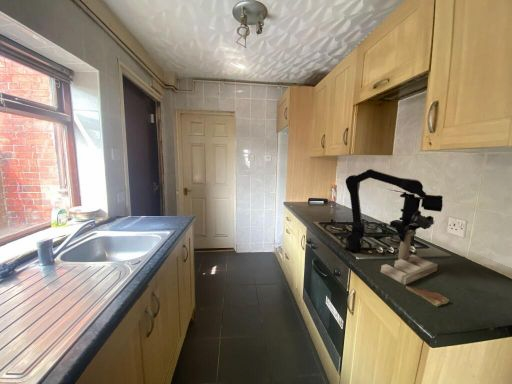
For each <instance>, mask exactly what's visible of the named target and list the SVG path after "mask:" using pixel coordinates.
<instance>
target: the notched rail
mask: <svg viewBox="0 0 512 384" xmlns="http://www.w3.org/2000/svg"><path fill="white" fill-rule="evenodd" d="M437 270H438V264H437V263H435V262H432V261H429V260H427V259H424V258H422V257H419V256H417V255H414V254H411V255H408V258H407V261H405V260H402V259H397V260H395V261H394V266H391V265H389V264H387V263H386V264H382V265H381V268H380V273H381V274H383V275H386V276H387V277H389V278H391V279H393V280H395V281H396V282H398V283H400V284H403V285H405V286H407V285H408V284H410V283H412V282H414V281H415V282H416V281H417V280H419V279H422V278H424V277H427V276H429V275H430V274H433V273H434V272H437Z"/></svg>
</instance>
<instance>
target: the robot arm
mask: <svg viewBox="0 0 512 384" xmlns="http://www.w3.org/2000/svg"><path fill="white" fill-rule="evenodd" d="M368 179H373V180H377V181H380V182H383V183H386V184H389V185H392V186H396V187H398V188H400V189H401V190H404V192H403V193H401V194H400V195H399V197H400V198H404V201H403V206H402V208H400V212H401V213H402V214H401V217H399V219H394V220H392V221H390V223H389V227H391V228H394V229H395V231H396V232H397V234H398V235H397V236H398V238H399V239H400V242H401V241H402V242H404V240H405V237H406V234H407V232H408V231H409V230H414V231H416V232H417V230H418V229H420V228H421V229H423V230H427V229H430V228H431V227H432V225H434V224H435V221H434V217H433V216H431V215H427V216H425V215H422V212H421V210H420V207H421V208H423V210H426V211H433V212H442V210H443V197H444V196H443V195H435V194H427V192H426V191H424V189H423V188H424V186H423V184H422V182H421V181H420V180H419V179H413V178H404V177H398V176H394V175H391V174H388V173H385V172H381V171H378V170H374V169H372V168H370V169H367V170H365V171H363V172H362V173H359V174H357V175H356V174H353V175H352V174H351V175H349V176H347V178H346V179H345V185H346V188H347V191H348V193H349V197H350V198H349V199H350V206H351V213H352V224H351V225H352V226H351V230H350V231H349V233H348V234H347V235H346V240H345V242H346V243H345V246H344V247H343V249H344V250H346V251H347V252H350V253H352V254H356V253H359V252H362V240H361V239H363V238H364V236H365V235H366V233H367V231H368V228H367V222H364V221H363V218H362V210H361V201H360V192H359V191H360V187H361V185H360V184H361V182H363V181H365V180H368ZM407 192H408V193H407ZM416 195H417V196H416ZM420 203H421V205H420ZM411 239H413V236H411Z"/></svg>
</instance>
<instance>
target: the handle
mask: <svg viewBox="0 0 512 384" xmlns="http://www.w3.org/2000/svg"><path fill="white" fill-rule="evenodd" d="M416 234H417V230H416V231H414V230H409V231H408V232H407V234H406V237H405V240H404V242H402V241H401V240H400V243H399V248H398V259H397V260H399V259H402V260H405V261H407V262H408V259H409V256H410V251H411V250H410V249H411V248H410V247H411V240H412V238H411V236H412V237H413V236H416Z"/></svg>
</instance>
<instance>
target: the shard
mask: <svg viewBox="0 0 512 384" xmlns="http://www.w3.org/2000/svg"><path fill="white" fill-rule="evenodd" d="M405 287H406V288H405V289H406V290H407V291H409V292H411V293H414V294H415V295H417V296H419V297H421V298H422V299H423V300H425V301H426V302H428V303H430V304H431V305H433V306H435V307H439V306H442V305H446V304H448V303H449V302H450V300H449V299H448V298H447V297H445V296H444V295H442V294H440V293H439V292H435V291H433V290H429V289H423V288H419V287H414V286H409V285H405Z"/></svg>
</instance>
